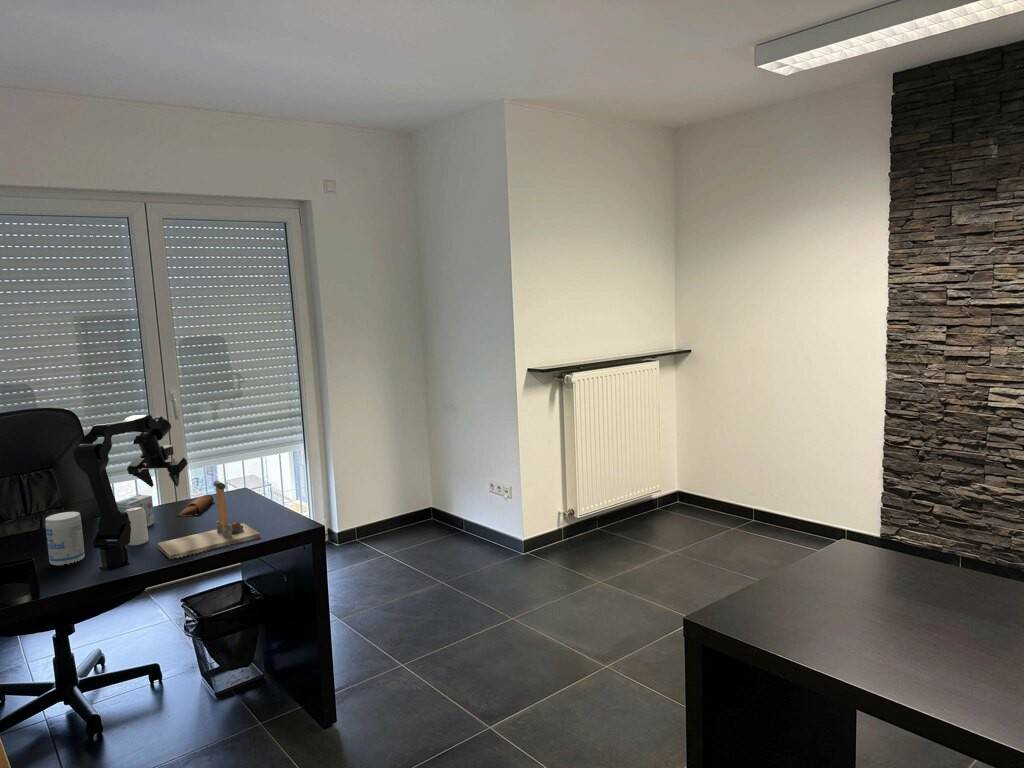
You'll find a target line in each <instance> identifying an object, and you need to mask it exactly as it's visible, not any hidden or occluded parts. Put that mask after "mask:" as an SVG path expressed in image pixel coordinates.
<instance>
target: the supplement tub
mask: <svg viewBox="0 0 1024 768" xmlns="http://www.w3.org/2000/svg"><path fill="white" fill-rule="evenodd" d="M45 535H46V544H47V552H48V560H49V564H50V565H53V566H65V565H64V564H67V565H71V564H70V563H72V564H75V563H77V561H78V562H80V561H81V560H83V559H84V558H85V555H86V553H85V545H84V535H83V525H82V517H81V513H80V512H78V511H66V512H59V513H55V514H51V515H48V516H47V517H46V518H45ZM74 562H75V563H74Z"/></svg>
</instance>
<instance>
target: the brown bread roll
mask: <svg viewBox="0 0 1024 768" xmlns="http://www.w3.org/2000/svg"><path fill="white" fill-rule="evenodd" d="M214 500H215V499H214V497H213V495H211V494H204V495H202V496H199V497H198V498H196V499H194V500H193V501H190V503H188V504H187V506H186V507H185V508H184V509H183V510H182V511H181V512H180V513H178V515H195V514H199V515H201V514H202V513H203V511H204V510H206V508H207V507H208V506H210V505H211V504H213V502H214Z"/></svg>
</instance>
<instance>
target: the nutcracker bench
mask: <svg viewBox="0 0 1024 768" xmlns="http://www.w3.org/2000/svg"><path fill="white" fill-rule="evenodd" d="M215 523H216V524H215V525H216V529H212V530H208V531H203V532H200V533H196V534H195V533H194V534H191V535H187V536H182V537H178V538H174V539H170V540H165V541H160V542H157V548H158V550H160V551H161V553H163V554H164V555H165V556H166V557H167V558H168V559H169V560H170V559H173V558H177V559H180V558H179V557H181V558H184V557H183V556H185V557H188V556H187V555H189V556H192V554H193V555H196V553H197V554H200V553H199V552H201V553H204V552H203V551H205V552H207V551H206V550H209V551H211V550H210V549H213V548H217V547H221V546H225V545H229V546H231V545H230V544H233V545H237V544H241V543H246V542H249V541H252V540H256V539H257V540H258V539H260V538H261V535H260V532H258V531H257V530H255V529H253V528H252V527H251V526H249V525H247V524H246V523H244V522H241V523H240V522H238V521H236V522H232V524H230V523H228V525H221V524H220V523H219V520H216V521H215ZM236 543H237V544H236ZM225 547H226V546H225ZM221 548H222V547H221ZM217 549H218V548H217ZM213 550H214V549H213ZM173 560H174V559H173Z"/></svg>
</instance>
